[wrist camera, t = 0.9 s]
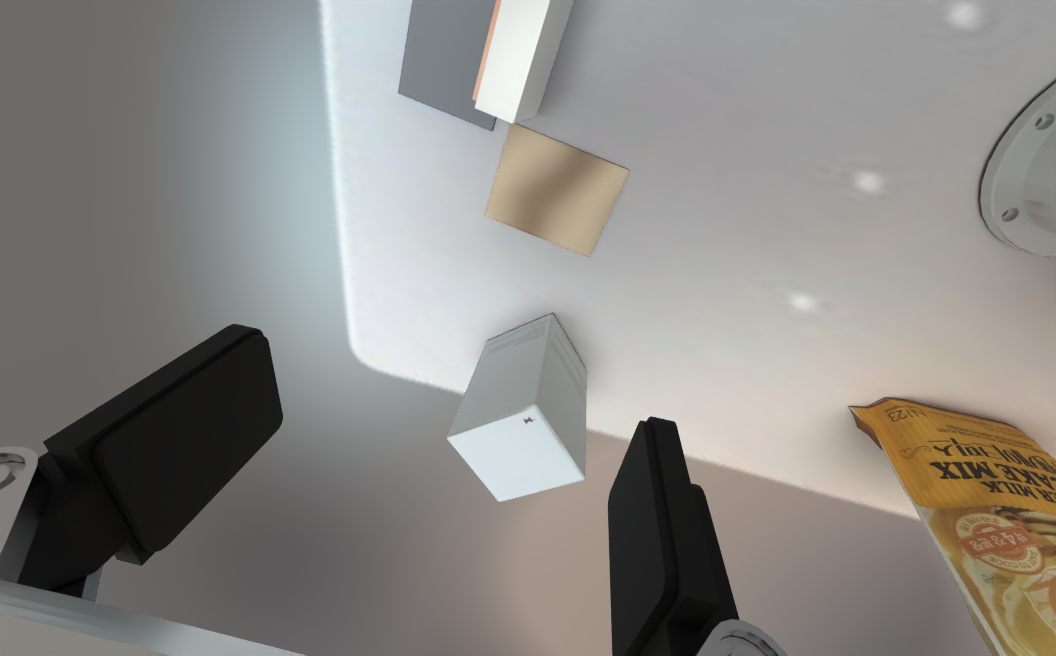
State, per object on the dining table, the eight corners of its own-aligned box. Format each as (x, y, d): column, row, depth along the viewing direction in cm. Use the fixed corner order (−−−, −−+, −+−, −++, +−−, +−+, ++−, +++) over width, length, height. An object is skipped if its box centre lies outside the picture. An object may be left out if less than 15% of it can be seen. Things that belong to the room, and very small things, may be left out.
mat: (553, -88, 23) (552, -91, 23) (492, 130, 29) (491, 131, 29) (437, -139, 23) (435, -143, 23) (400, 93, 29) (397, 93, 29)
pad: (629, 170, 29) (629, 170, 29) (589, 256, 33) (589, 257, 33) (512, 122, 29) (511, 122, 29) (484, 214, 32) (484, 215, 32)
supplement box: (484, 339, 38) (441, 436, 27) (554, 310, 36) (538, 404, 25) (521, 397, 41) (496, 505, 30) (589, 373, 39) (588, 482, 28)
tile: (582, -26, 24) (577, -92, 16) (537, 115, 29) (513, 123, 20) (547, -41, 24) (522, -117, 16) (506, 102, 28) (468, 105, 20)
